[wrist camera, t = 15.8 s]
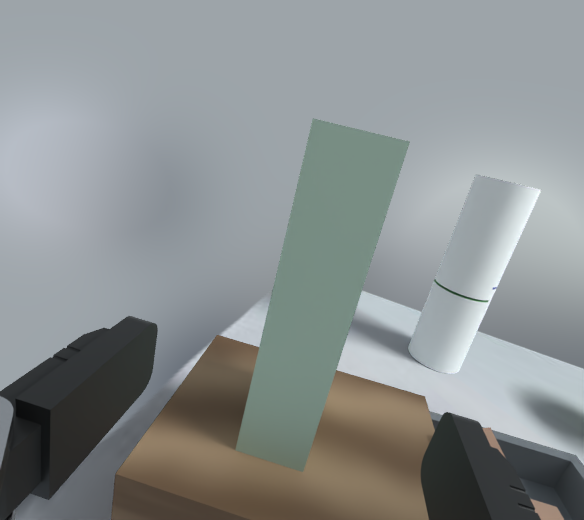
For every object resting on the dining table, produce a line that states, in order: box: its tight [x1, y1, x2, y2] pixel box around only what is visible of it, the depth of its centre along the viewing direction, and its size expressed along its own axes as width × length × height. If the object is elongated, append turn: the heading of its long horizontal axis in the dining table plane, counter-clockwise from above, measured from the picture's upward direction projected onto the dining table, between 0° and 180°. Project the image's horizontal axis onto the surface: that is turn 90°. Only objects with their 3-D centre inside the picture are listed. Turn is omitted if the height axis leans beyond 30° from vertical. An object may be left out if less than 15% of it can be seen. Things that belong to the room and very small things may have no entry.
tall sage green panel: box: [235, 119, 409, 472], centre depth 21 cm, size 7×4×18 cm, turn 171°
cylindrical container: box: [408, 175, 541, 374], centre depth 46 cm, size 7×7×25 cm
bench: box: [111, 335, 435, 520], centre depth 24 cm, size 14×18×7 cm
